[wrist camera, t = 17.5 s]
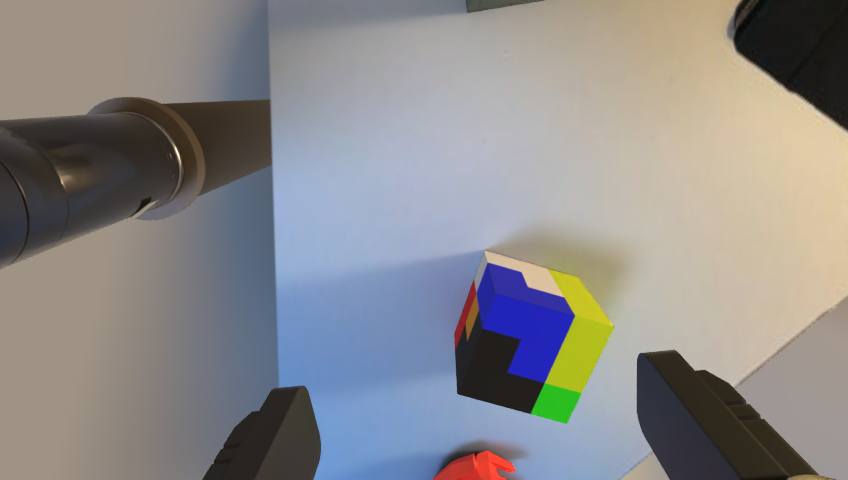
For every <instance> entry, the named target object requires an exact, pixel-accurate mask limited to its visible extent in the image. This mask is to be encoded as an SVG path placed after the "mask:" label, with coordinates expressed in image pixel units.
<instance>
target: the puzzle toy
mask: <svg viewBox="0 0 848 480" xmlns="http://www.w3.org/2000/svg"><path fill="white" fill-rule="evenodd" d="M613 329H614V326H613V324H612V323H611V322H610V320H609V319H608V318H607V316H606V315H605V314H604V312H603V311H602V309H601V308H600V307H599V305H598V304H597V303H596V301H595V300H594V298H593V297H592V296H591V294H590V293H589V292H588V290H587V289H586V287H585V286H584V285H583V283H582V282H581V281H580V279H579V278H578V277H575V276H571V275H568V274H564V273H561V272H558V271H554V270H551V269H547V268H544V267H540V266H537V265H533V264H530V263H527V262H523V261H520V260H516V259H513V258H509V257H506V256H503V255H499V254H496V253H492V252H489V251H485V250H484V253H483V256H482V259H481V261H480V264H479V267H478V270H477V273H476V275H475V278H474V281H473V284H472V286H471V289H470V292H469V295H468V298H467V300H466V303H465V306H464V309H463V311H462V314H461V317H460V320H459V323H458V325H457V328H456V331H455V334H454V335H455V356H456V377H457V394H459V395H463V396H466V397H470V398H474V399H477V400H481V401H485V402H488V403H492V404H496V405H499V406H503V407H507V408H511V409H514V410H518V411H522V412H525V413H529V414H533V415H536V416H540V417H544V418H547V419H551V420H555V421H558V422H562V423H566V424H567V422H568V420H569V418H570V416H571V414H572V412H573V410H574V408H575V406H576V404H577V402H578V400H579V398H580V396H581V394H582V392H583V390H584V388H585V386H586V384H587V382H588V380H589V378H590V375H591V373H592V371H593V369H594V367H595V365H596V363H597V361H598V359H599V357H600V355H601V353H602V351H603V349H604V347H605V345H606V343H607V341H608V339H609V337H610V335H611V333H612V331H613Z"/></svg>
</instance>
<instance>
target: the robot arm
mask: <svg viewBox="0 0 848 480" xmlns="http://www.w3.org/2000/svg"><path fill="white" fill-rule="evenodd" d="M184 171H185V169H184V160H183V156H182V153H181V150H180V148H179V146H178V144H177V142H176V141H175V139H174V138H173V136H172V135H171V134H170V133H169V132H168V130H167V129H166V128H164V127H163V126H162V125H161V124H160V123H158V122H157V121H155V120H154V119H152V118H150V117H148V116H146V115H143V114H140V113H136V112H113V113H109V114H92V115H77V116H61V117H46V118H30V119H16V120H0V269H2V268H5V267H7V266H10V265H12V264H15V263H17V262H20V261H22V260H25V259H27V258H29V257H32V256H35V255H37V254H39V253H42V252H44V251H46V250H49V249H52V248H54V247H57V246H59V245H62V244H64V243H67V242H69V241H72V240H74V239H76V238H79V237H81V236H84V235H86V234H89V233H91V232H94V231H97V230H99V229H101V228H104V227H107V226H109V225H112V224H114V223H117V222H119V221H122V220H124V219H126V218H129V217H132V216H133V217H132V218H130V219H129V220H128V221H130V220H132V219H135V218H137V217H138V216H140V215H141V214H142V213H143V212H145V211H147V210H150V209H154V208H157V207H160V206H162V205H165V204H166V203H168V202H169V201H171V200H172V199H173V198H174V197H175V196H176V195H177V193H178V192H179V190H180V188H181V186H182V183H183V180H184ZM637 414H638V419H639V423H640V427H641V429H642V432H643V434H644V436H645V438H646V440H647V442H648V443H649V445H650V447H651V448H652V450H653V452H654V453H655V455H656V457H657V459H658V460H659V462H660V464H661V465H662V467H663V468H664V470H665V472H666V474H667V475H668V477H669V479H670V480H835V479H832V478H828V477H823V476H820V475H819V474H818V473H817V472H816V471H815V470H814V469H813V468H812V467H811V466H810V465H808V463H807V462H806V461H805V460H804V459H803V458H802V457H801V456H800V455H799V454H798V453H797V452H796V451H795V450H794V449H793V448H792V447H791V446H790V445H789V444H788V443H787V442H786V441H785V440H784V439H783V438H782V437H781V436H780V435H779V434H778V433H777V432H776V431H775V430H774V429H773V428H772V427H771V426H770V425H769V424H768V423H767V422H766V421H765V420H764V419H761V418H760V415H759V414H758V412H756V411H755V409H754V408H753V407H752V406H751V405H750V404H747V403H746V400H745V399H744V398H743V397H742V396H741V395H740V394H739V393H738V392H737V391H736V390H735V389H734V388H733V387H732V386H731V385H730V384H729V383H727V382H725V381H724V380H722V379H720V378H718V377H717V376H715V375H713V374H711V373H710V372H708V371H706V370H699V371H695V370H694V369H693V368H692V367H691V366H690V365H689V364H688V363H687V362H686V361H685V359H684V358H683V357H682V356H681V355H680V354H679V353H678V352H677V351H675V350H668V351H658V352H648V353H640V354H639V355H638V359H637ZM320 453H321V441H320V434H319V430H318V427H317V423H316V419H315V415H314V412H313V408H312V404H311V400H310V396H309V393H308V390H307V388H306V387H305V386H294V387H284V388H274V389H273V390H272V391H271V392H270V393H269V395H268V397H267V399H266V400H265V402H264V404H263V406H262V407H261V409H260V411H255V412H251V413H250V414H249V415H248V416H247V417H246V418H245V419H244V420H242V421H241V423H239V424H238V425H237V426H236V427H235V428H234V429H233V431H232V433H231V434H230V436H229V437H228V439H227V441H226V442H225V444H224V448H223V449H221V450H220V452H219V454H218V455H217V457H216V459H215V460H214V464H212V465H211V467H210V468H209V470H208V471H207V473H206V475H205V476H204V478H203V479H202V480H313V479H314V476H315V473H316V470H317V467H318V464H319V460H320Z"/></svg>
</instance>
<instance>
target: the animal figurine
mask: <svg viewBox="0 0 848 480" xmlns="http://www.w3.org/2000/svg"><path fill="white" fill-rule="evenodd" d="M496 467H497V468H499V469H502V470H504V471H507V472H515V471H516V470H515V469H514V467H513V465H512V463H510V462H508V461H506V460H505V459H503V458H501V457H499V456H497V455H495V454H493V453H491V452H489V451H485V452H481V453H478V454H477V455H476V456H474V453H473V454H470V455H467V456H465V457H462V458H459V459H457V460H454V461H452V462H450V463H449V464H448V465H447V466H446V467H444V468H443V469H442V470H441V471H440V472H439V473H438V474H437V475H436V476H435V477H434V479H433V480H507V479H505V478H503V477H501V476H499V475H498V473H497V469H496Z"/></svg>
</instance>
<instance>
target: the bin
mask: <svg viewBox="0 0 848 480" xmlns="http://www.w3.org/2000/svg"><path fill="white" fill-rule="evenodd" d="M537 1H543V0H466V5H467V12H468V13H470V12H476V11H482V10H488V9H494V8H500V7H506V6H512V5H518V4H525V3H531V2H537Z"/></svg>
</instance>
